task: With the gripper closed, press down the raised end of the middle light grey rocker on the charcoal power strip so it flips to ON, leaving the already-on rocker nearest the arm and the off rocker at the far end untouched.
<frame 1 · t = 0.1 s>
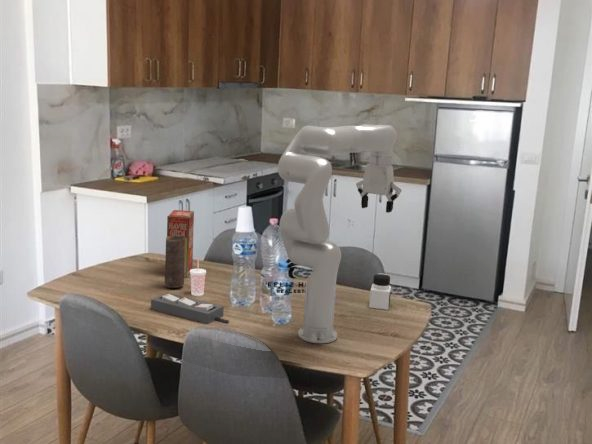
hand: (376, 209, 225), 37 cm above the table, tool pointing down, fingers open, 9 cm apart
rocker far: (170, 298, 224), point 3 cm above the table, hinge at -10.0°
rocker near: (203, 307, 218), point 3 cm above the table, hinge at 10.0°
rocker middle: (187, 302, 221), point 3 cm above the table, hinge at -10.0°
power strip: (186, 312, 222), on the table
food packaging: (179, 273, 266), on the table
medicine bottle: (379, 306, 239), on the table
candle: (174, 287, 248), on the table
beverage cup: (197, 294, 242), on the table
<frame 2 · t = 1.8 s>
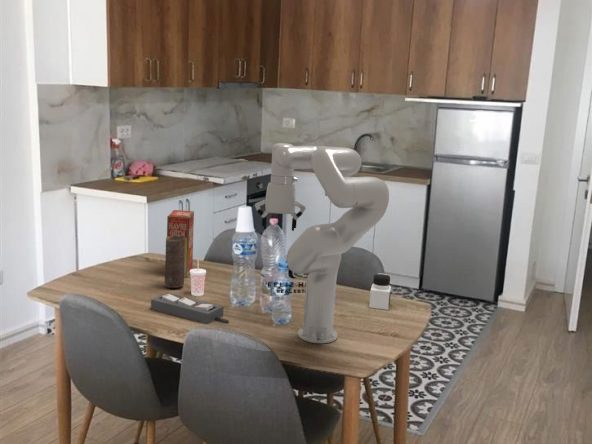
hand: (278, 229, 222), 30 cm above the table, tool pointing down, fingers open, 9 cm apart
nothing on the table moved.
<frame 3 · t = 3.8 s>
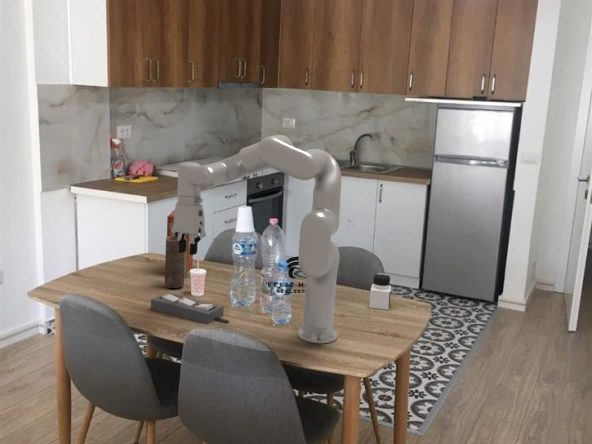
hand: (188, 252, 218), 21 cm above the table, tool pointing down, fingers open, 3 cm apart
nothing on the table moved.
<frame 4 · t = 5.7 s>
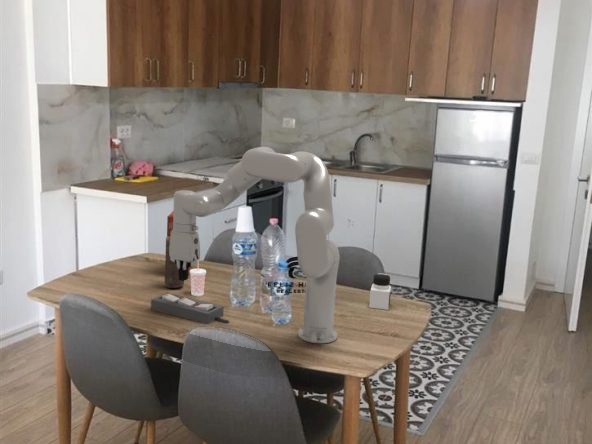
hand: (183, 279, 220), 11 cm above the table, tool pointing down, fingers closed
nothing on the table moved.
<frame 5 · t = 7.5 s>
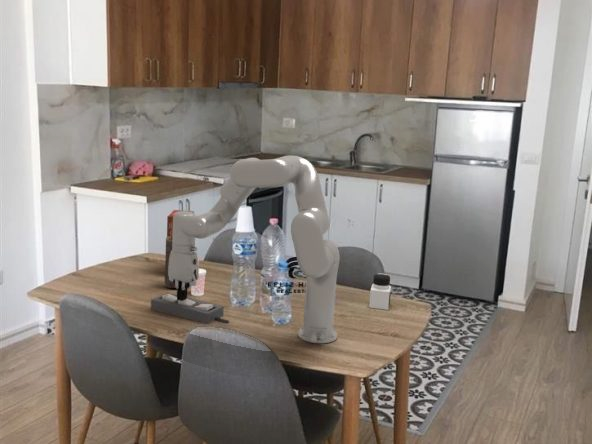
hand: (181, 299, 222), 4 cm above the table, tool pointing down, fingers closed
rocker middle: (187, 302, 221), point 3 cm above the table, hinge at -9.4°, touching gripper
everything else where it was.
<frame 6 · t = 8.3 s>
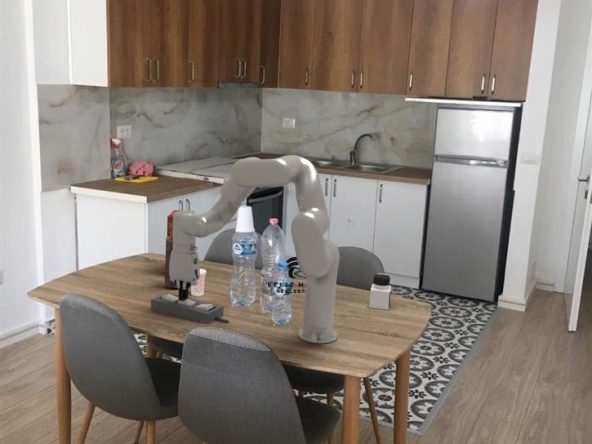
hand: (183, 299, 222), 4 cm above the table, tool pointing down, fingers closed
rocker middle: (187, 302, 221), point 3 cm above the table, hinge at -5.3°
everything else where it was.
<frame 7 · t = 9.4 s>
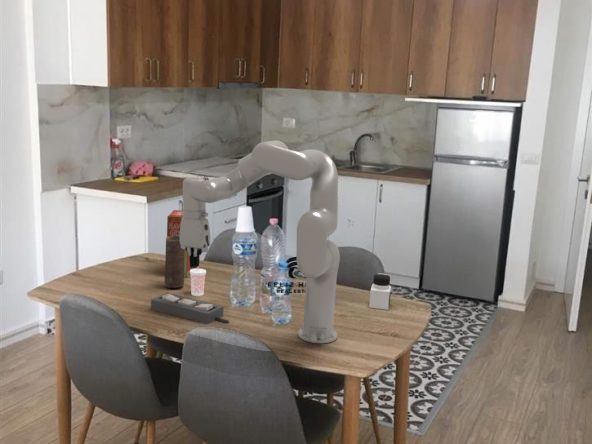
hand: (194, 266, 221), 16 cm above the table, tool pointing down, fingers closed
rocker middle: (187, 302, 221), point 3 cm above the table, hinge at -0.3°
everything else where it was.
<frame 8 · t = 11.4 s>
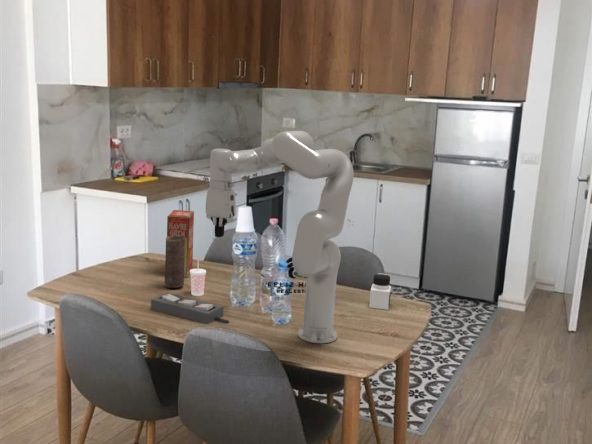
hand: (219, 236, 226), 25 cm above the table, tool pointing down, fingers closed
rocker middle: (187, 302, 221), point 3 cm above the table, hinge at 6.4°
everything else where it was.
at the end: rocker middle at +6° (first picture: -10°); rocker near at +10° (first picture: +10°); rocker far at -10° (first picture: -10°) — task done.
